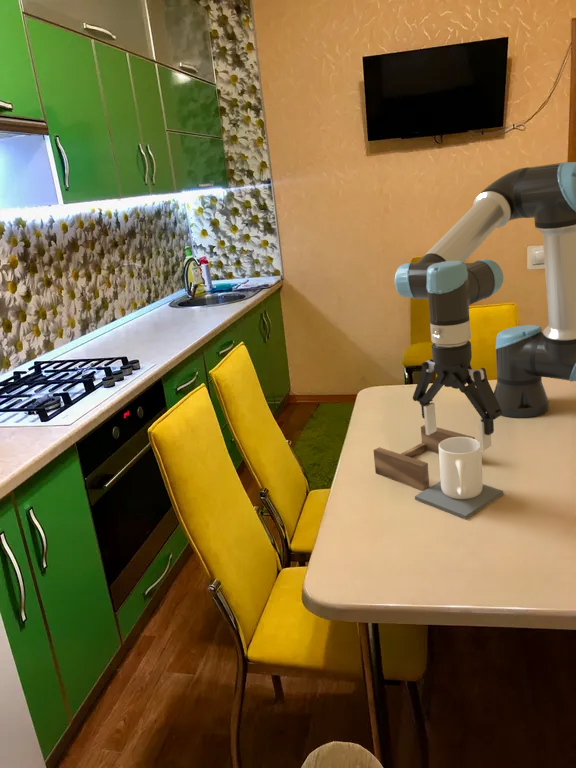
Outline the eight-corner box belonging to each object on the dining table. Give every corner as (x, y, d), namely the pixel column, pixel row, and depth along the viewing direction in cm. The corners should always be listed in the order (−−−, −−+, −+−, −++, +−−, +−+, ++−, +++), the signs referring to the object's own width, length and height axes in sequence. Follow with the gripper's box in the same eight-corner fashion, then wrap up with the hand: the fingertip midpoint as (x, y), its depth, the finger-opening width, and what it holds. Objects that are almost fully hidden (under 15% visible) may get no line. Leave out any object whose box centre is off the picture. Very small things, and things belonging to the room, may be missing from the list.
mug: (440, 508, 126) (437, 461, 123) (441, 481, 137) (438, 437, 134) (484, 509, 124) (482, 460, 121) (481, 481, 135) (480, 436, 132)
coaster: (452, 477, 140) (452, 474, 140) (503, 494, 130) (503, 490, 130) (415, 499, 133) (414, 496, 132) (465, 519, 123) (465, 515, 122)
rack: (427, 446, 158) (425, 424, 156) (475, 460, 146) (474, 437, 145) (375, 473, 147) (373, 450, 145) (423, 491, 136) (421, 466, 134)
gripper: (390, 340, 129) (399, 432, 135) (495, 355, 109) (499, 462, 116) (414, 330, 133) (422, 421, 139) (519, 343, 113) (522, 448, 120)
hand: (457, 440), depth 128 cm, fingers open, 13 cm apart
